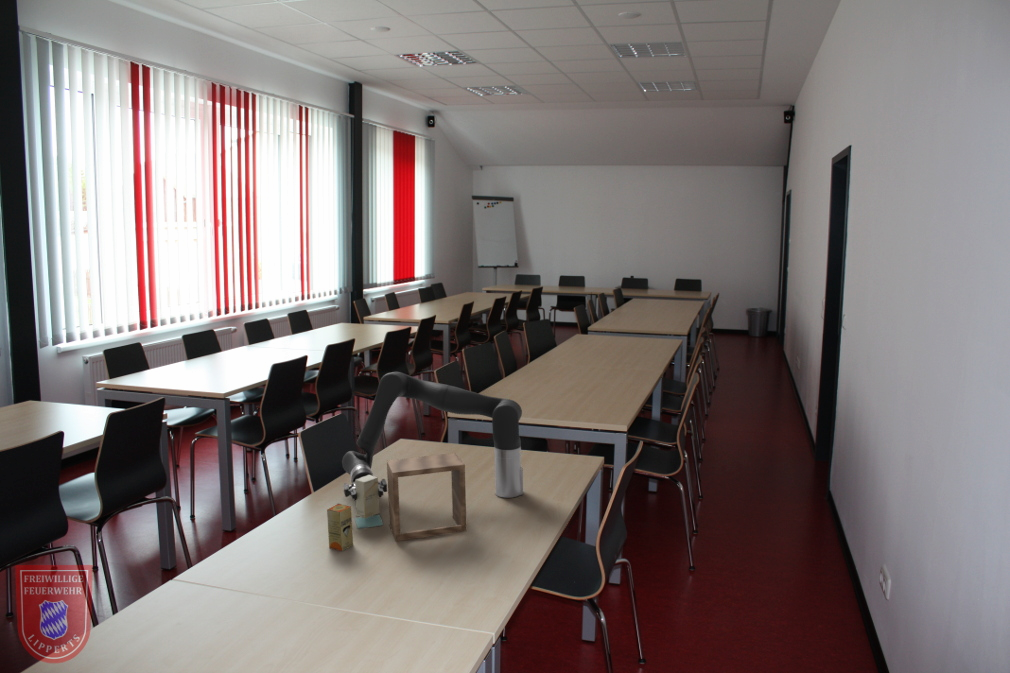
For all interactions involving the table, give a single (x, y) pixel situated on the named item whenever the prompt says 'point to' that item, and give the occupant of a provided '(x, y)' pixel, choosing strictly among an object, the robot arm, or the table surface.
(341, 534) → the shoe polish box
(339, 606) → the table surface
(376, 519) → the mat
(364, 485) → the skincare box
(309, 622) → the table surface
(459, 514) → the wooden square frame
